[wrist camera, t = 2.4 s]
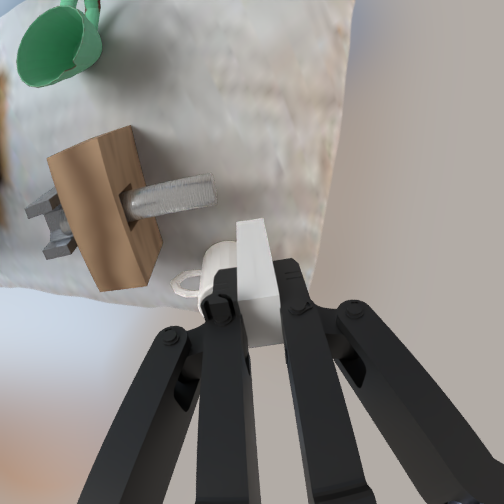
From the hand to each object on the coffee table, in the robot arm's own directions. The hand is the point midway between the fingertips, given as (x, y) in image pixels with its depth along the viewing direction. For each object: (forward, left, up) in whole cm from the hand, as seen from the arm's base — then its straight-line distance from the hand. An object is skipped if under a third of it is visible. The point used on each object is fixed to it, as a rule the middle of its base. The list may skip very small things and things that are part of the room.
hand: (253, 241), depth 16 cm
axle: (-13, -2, -17) cm, 22 cm away
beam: (-17, -2, -22) cm, 28 cm away
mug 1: (-17, +22, -22) cm, 36 cm away
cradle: (-26, -2, -22) cm, 34 cm away
